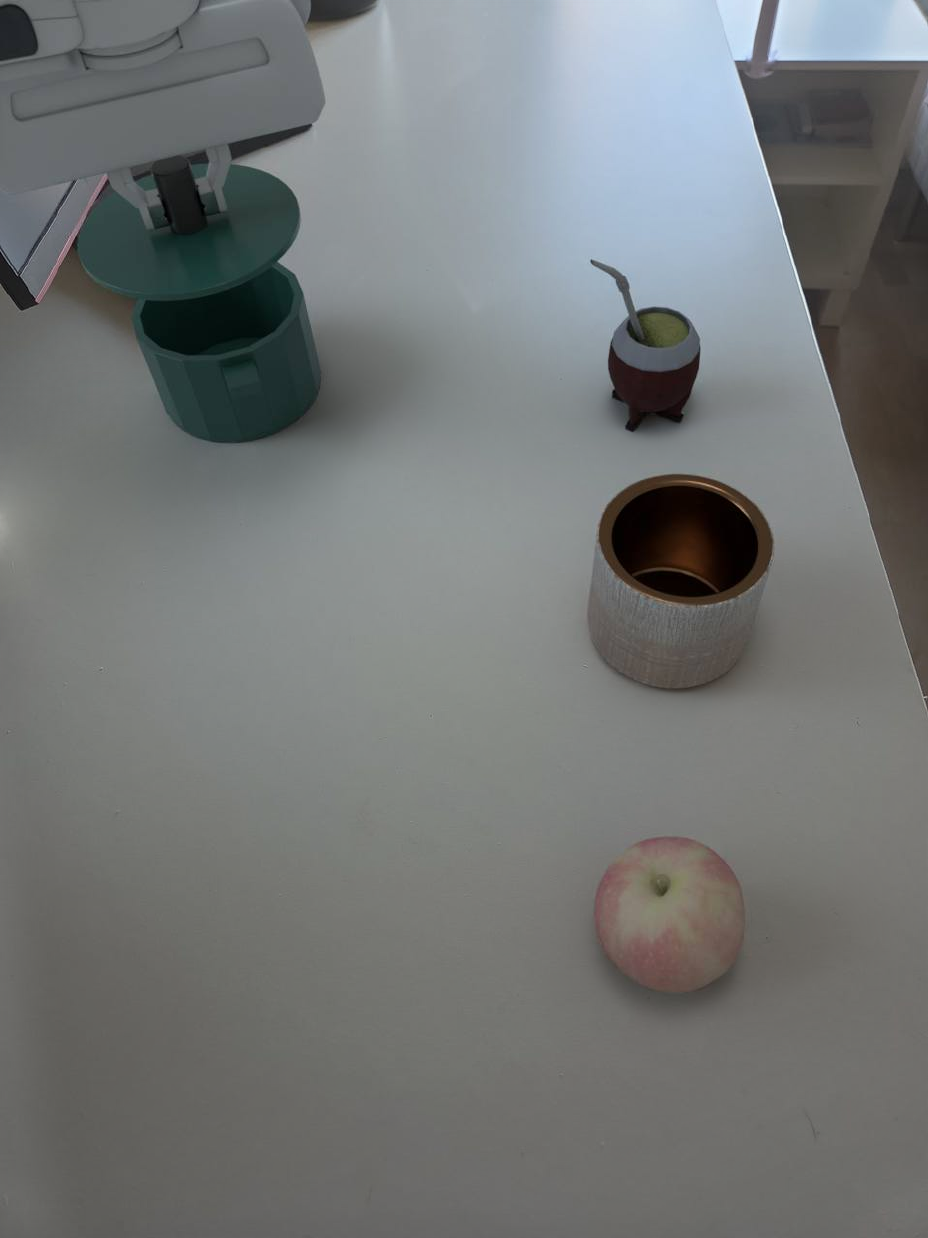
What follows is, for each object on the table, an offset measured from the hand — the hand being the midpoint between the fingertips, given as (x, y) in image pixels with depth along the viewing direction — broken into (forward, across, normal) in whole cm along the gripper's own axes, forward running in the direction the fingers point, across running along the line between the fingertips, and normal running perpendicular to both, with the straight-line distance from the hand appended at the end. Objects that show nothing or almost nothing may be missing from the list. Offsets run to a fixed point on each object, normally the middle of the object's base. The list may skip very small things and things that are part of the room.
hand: (186, 216), depth 62 cm
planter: (+21, -22, +28) cm, 42 cm away
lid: (+1, 0, 0) cm, 1 cm away
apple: (+21, -13, +47) cm, 53 cm away
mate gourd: (+21, -30, +8) cm, 38 cm away
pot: (+21, 0, -8) cm, 22 cm away
